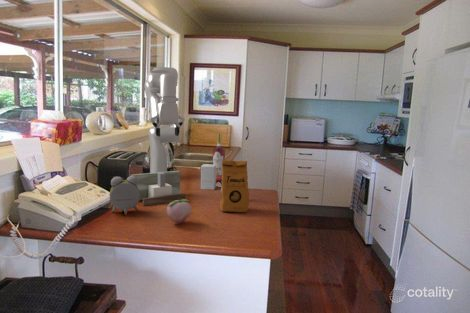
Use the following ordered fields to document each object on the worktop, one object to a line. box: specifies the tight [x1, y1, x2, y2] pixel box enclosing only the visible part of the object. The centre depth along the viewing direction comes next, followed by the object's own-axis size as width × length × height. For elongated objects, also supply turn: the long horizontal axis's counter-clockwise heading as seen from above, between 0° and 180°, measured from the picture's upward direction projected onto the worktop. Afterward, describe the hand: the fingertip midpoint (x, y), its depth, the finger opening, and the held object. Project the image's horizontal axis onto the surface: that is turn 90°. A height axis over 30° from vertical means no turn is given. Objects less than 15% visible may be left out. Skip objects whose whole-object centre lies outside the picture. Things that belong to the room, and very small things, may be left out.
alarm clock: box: [109, 175, 140, 216], centre depth 140 cm, size 12×7×15 cm, turn 111°
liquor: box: [212, 133, 226, 183], centre depth 204 cm, size 7×7×28 cm
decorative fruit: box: [166, 198, 192, 224], centre depth 130 cm, size 9×8×10 cm
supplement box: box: [200, 163, 217, 191], centre depth 187 cm, size 7×7×13 cm
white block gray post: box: [148, 173, 172, 198], centre depth 161 cm, size 6×9×13 cm, turn 126°
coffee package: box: [219, 159, 250, 213], centre depth 148 cm, size 10×12×22 cm
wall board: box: [130, 170, 186, 207], centre depth 161 cm, size 11×24×12 cm, turn 125°
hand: (167, 135), depth 168 cm, fingers open, 9 cm apart
